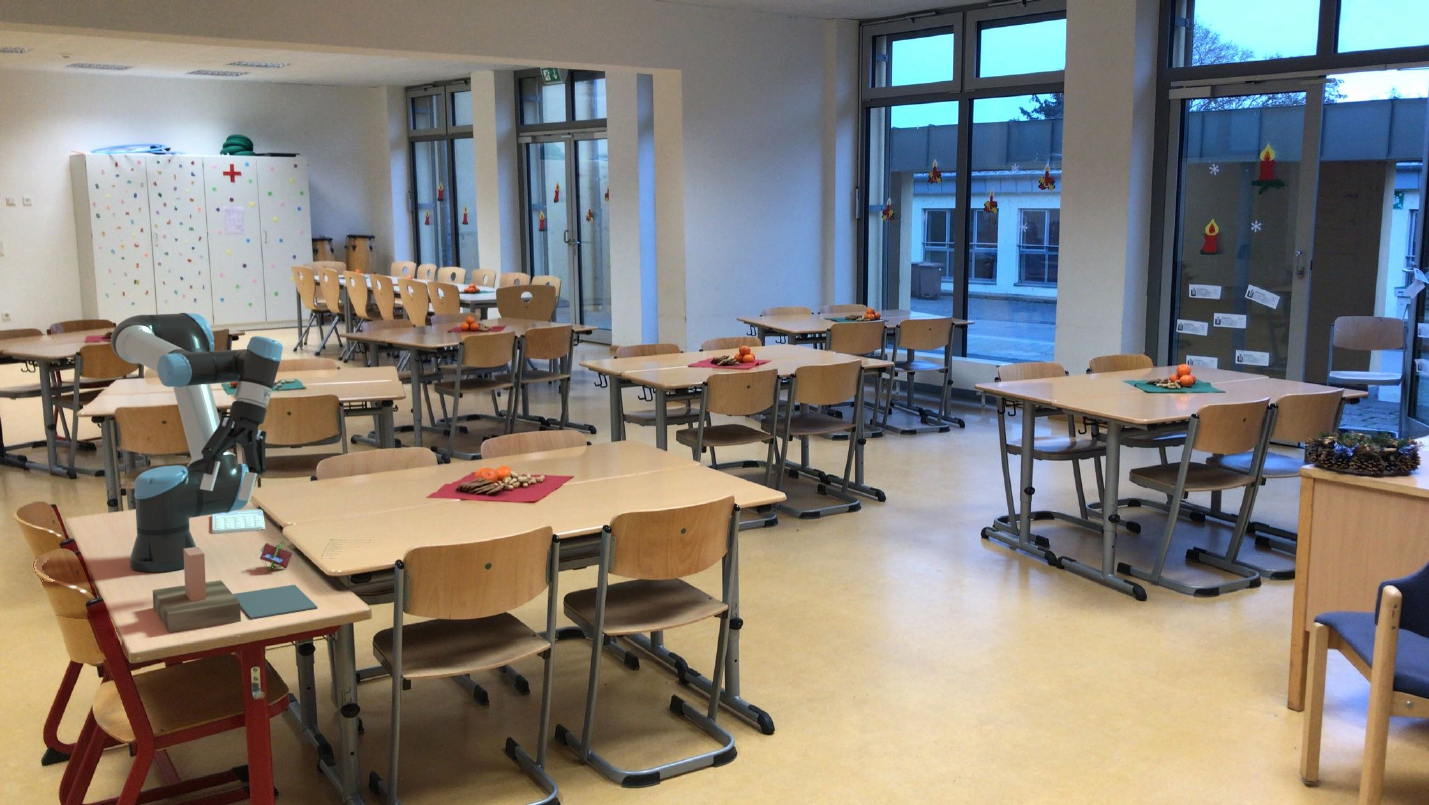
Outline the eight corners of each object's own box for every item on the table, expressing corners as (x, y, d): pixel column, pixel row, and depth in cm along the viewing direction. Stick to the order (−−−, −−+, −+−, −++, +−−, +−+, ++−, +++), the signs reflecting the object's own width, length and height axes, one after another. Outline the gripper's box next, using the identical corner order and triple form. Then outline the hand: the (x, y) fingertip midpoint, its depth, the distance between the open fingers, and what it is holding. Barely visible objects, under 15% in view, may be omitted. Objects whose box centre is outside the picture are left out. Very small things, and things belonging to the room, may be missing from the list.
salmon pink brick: (185, 593, 252) (183, 548, 250) (200, 591, 253) (198, 546, 252) (191, 601, 247) (189, 555, 245) (206, 599, 249) (204, 553, 247)
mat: (231, 595, 263) (231, 594, 263) (294, 586, 271) (294, 584, 271) (250, 619, 249) (250, 617, 249) (317, 608, 256) (317, 606, 256)
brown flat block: (153, 607, 254) (152, 590, 254) (221, 597, 262) (221, 580, 261) (169, 632, 240) (168, 614, 239) (240, 621, 247) (240, 602, 247)
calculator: (212, 535, 312) (211, 528, 312) (212, 517, 331) (212, 511, 330) (265, 532, 318) (265, 525, 317) (262, 514, 336) (262, 507, 336)
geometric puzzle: (302, 556, 287) (281, 530, 286) (294, 564, 281) (272, 538, 279) (279, 573, 288) (258, 547, 286) (270, 581, 281) (249, 555, 280)
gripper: (230, 391, 253) (203, 487, 249) (295, 419, 277) (272, 506, 272) (201, 387, 255) (174, 482, 251) (268, 415, 278) (245, 502, 274)
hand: (225, 495), depth 261 cm, fingers open, 13 cm apart
